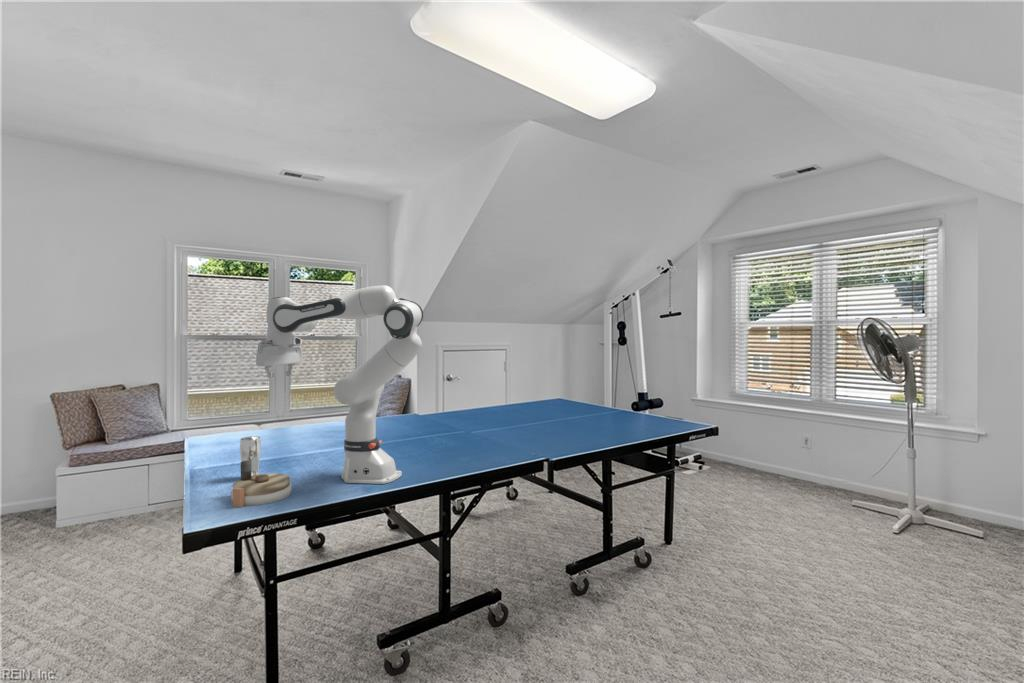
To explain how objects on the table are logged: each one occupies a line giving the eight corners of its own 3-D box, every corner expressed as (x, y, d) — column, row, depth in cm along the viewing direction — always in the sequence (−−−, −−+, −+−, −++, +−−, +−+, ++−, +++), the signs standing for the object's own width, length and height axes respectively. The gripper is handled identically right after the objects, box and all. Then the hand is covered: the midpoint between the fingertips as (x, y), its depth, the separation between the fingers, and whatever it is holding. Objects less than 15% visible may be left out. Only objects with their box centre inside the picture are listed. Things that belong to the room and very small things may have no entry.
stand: (303, 489, 173) (302, 474, 173) (260, 509, 154) (259, 492, 154) (260, 485, 178) (260, 469, 178) (213, 503, 159) (213, 486, 159)
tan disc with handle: (300, 481, 173) (300, 458, 172) (263, 497, 156) (263, 472, 156) (260, 477, 177) (260, 455, 177) (220, 492, 161) (220, 468, 161)
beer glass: (235, 479, 185) (235, 439, 184) (251, 474, 191) (251, 435, 191) (249, 481, 182) (249, 440, 182) (265, 476, 189) (264, 436, 188)
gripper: (265, 341, 177) (266, 379, 177) (305, 339, 196) (305, 374, 197) (251, 340, 178) (251, 379, 179) (291, 339, 198) (292, 374, 198)
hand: (280, 376), depth 188 cm, fingers open, 8 cm apart
